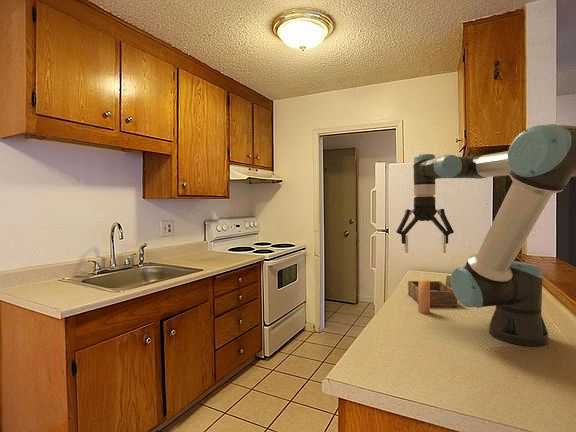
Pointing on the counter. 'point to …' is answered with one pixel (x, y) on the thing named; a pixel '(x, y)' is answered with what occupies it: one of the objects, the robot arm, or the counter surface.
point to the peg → (424, 297)
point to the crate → (435, 294)
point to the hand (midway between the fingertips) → (424, 252)
